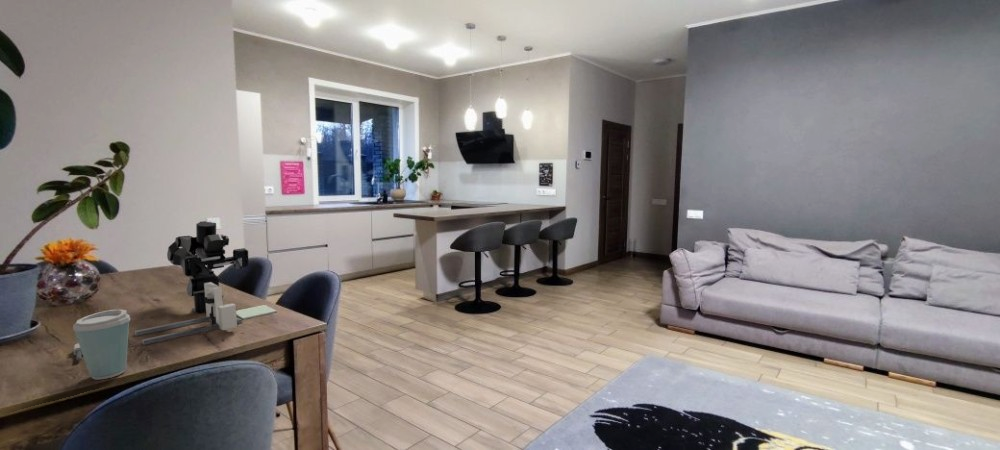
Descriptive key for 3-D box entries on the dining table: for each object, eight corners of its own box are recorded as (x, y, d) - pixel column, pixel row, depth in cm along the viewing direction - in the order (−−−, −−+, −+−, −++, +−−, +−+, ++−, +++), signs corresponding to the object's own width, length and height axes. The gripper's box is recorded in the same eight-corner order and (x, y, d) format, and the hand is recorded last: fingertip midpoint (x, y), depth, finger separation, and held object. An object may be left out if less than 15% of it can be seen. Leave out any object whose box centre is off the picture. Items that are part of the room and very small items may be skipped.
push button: (205, 322, 151) (202, 292, 150) (223, 319, 155) (221, 290, 153) (206, 327, 146) (204, 297, 145) (226, 324, 149) (223, 294, 148)
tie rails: (135, 334, 140) (134, 331, 140) (229, 315, 159) (229, 311, 159) (143, 345, 132) (143, 341, 131) (242, 322, 150) (242, 319, 150)
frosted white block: (203, 316, 152) (200, 283, 151) (216, 314, 155) (214, 281, 154) (222, 330, 139) (219, 294, 138) (237, 327, 142) (234, 291, 141)
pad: (232, 312, 162) (232, 311, 162) (264, 306, 170) (264, 304, 170) (243, 319, 154) (243, 318, 154) (276, 312, 162) (276, 310, 162)
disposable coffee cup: (104, 385, 106) (97, 323, 104) (66, 382, 108) (58, 320, 106) (146, 366, 117) (140, 309, 115) (111, 364, 118) (105, 307, 117)
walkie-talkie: (74, 345, 133) (73, 365, 118) (72, 330, 133) (71, 349, 118) (113, 337, 139) (117, 356, 124) (112, 323, 139) (116, 341, 124)
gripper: (175, 236, 147) (191, 251, 137) (238, 228, 161) (256, 242, 151) (177, 268, 150) (192, 285, 140) (239, 258, 164) (257, 273, 154)
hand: (226, 270), depth 146 cm, fingers open, 9 cm apart
